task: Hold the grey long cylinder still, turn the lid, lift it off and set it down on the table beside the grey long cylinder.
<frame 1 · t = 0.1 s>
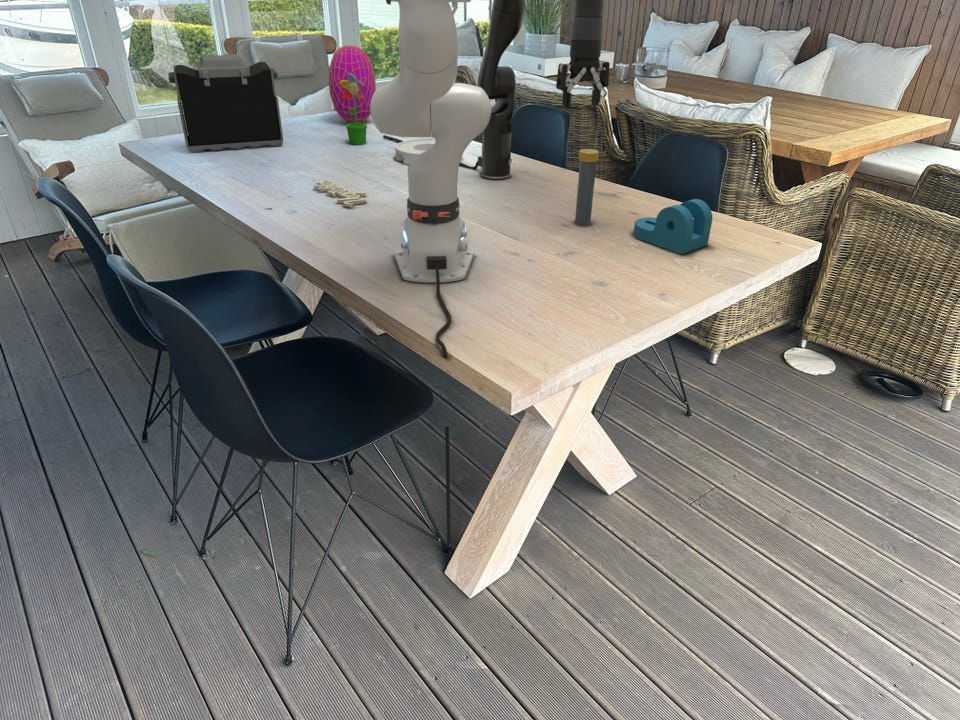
left hand: (430, 23, 166), 48 cm above the table, tool pointing down, fingers open, 8 cm apart
right hand: (580, 106, 176), 29 cm above the table, tool pointing down, fingers open, 8 cm apart
ashtray: (428, 158, 244), on the table
decorative sign: (342, 194, 206), on the table
electronic device: (235, 143, 259), on the table
lid: (588, 152, 177), point 19 cm above the table, screwed on, not yet turned
decorative egg: (355, 123, 293), on the table
camera mount: (665, 240, 176), on the table
grey long cylinder: (582, 223, 186), on the table
potted flower: (358, 143, 262), on the table
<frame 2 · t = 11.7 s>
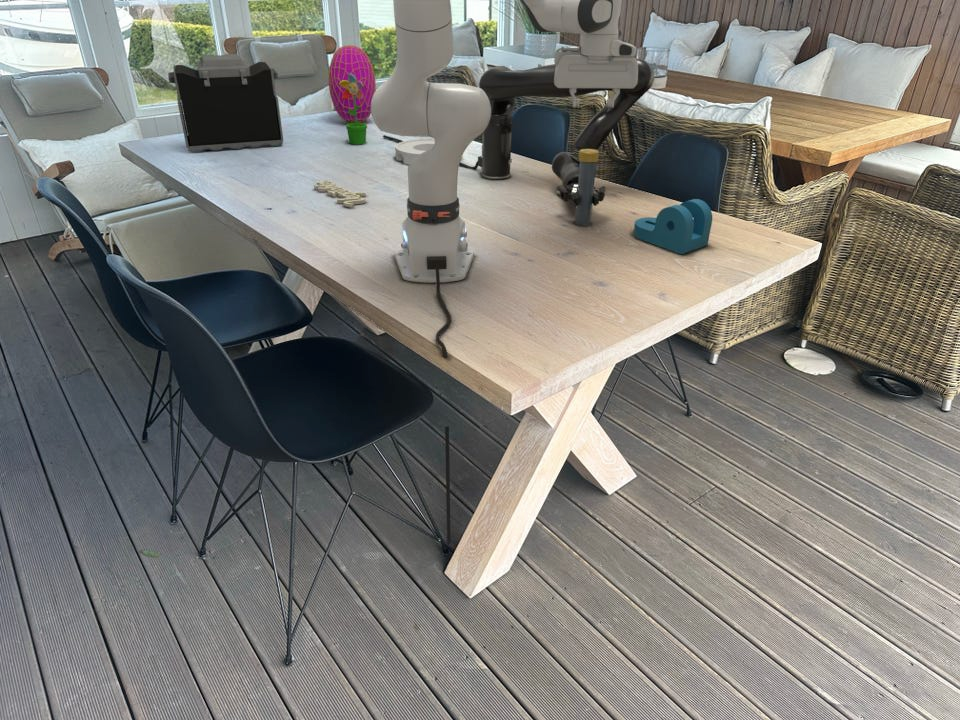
left hand: (593, 107, 171), 30 cm above the table, tool pointing down, fingers open, 7 cm apart
right hand: (586, 202, 180), 7 cm above the table, tool horizontal, fingers closed on grey long cylinder, 4 cm apart
grey long cylinder: (582, 223, 186), on the table, touching right hand
everything else where it was.
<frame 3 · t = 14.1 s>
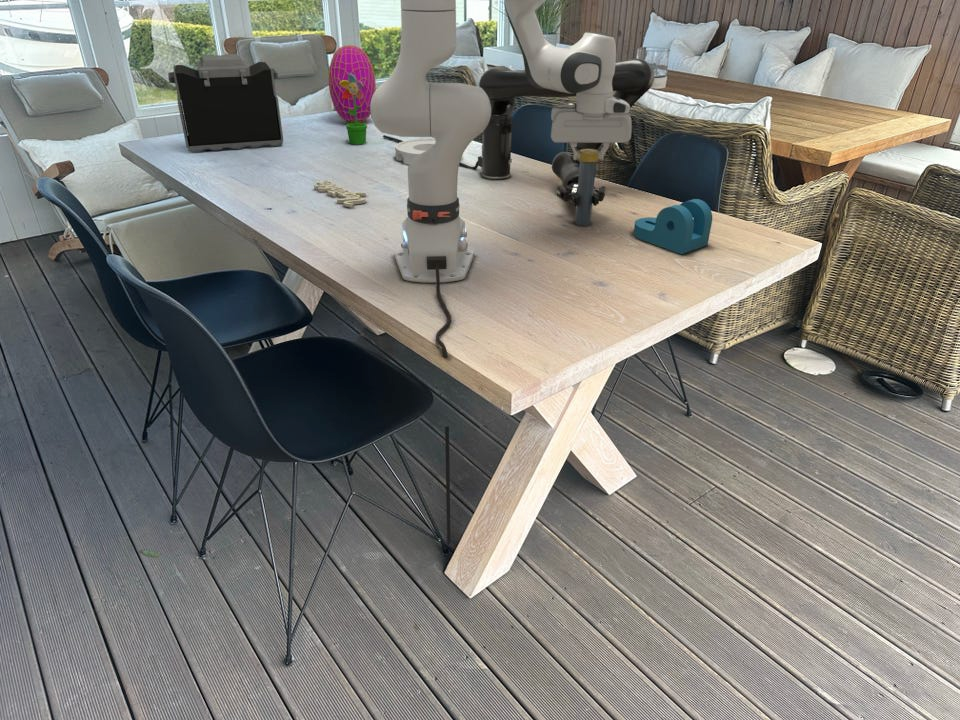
left hand: (588, 159, 178), 17 cm above the table, tool pointing down, fingers closed on lid, 5 cm apart
right hand: (586, 202, 180), 7 cm above the table, tool horizontal, fingers closed on grey long cylinder, 4 cm apart
lid: (588, 152, 177), point 19 cm above the table, screwed on, not yet turned, touching left hand
grey long cylinder: (582, 223, 186), on the table, touching right hand
everything else where it was.
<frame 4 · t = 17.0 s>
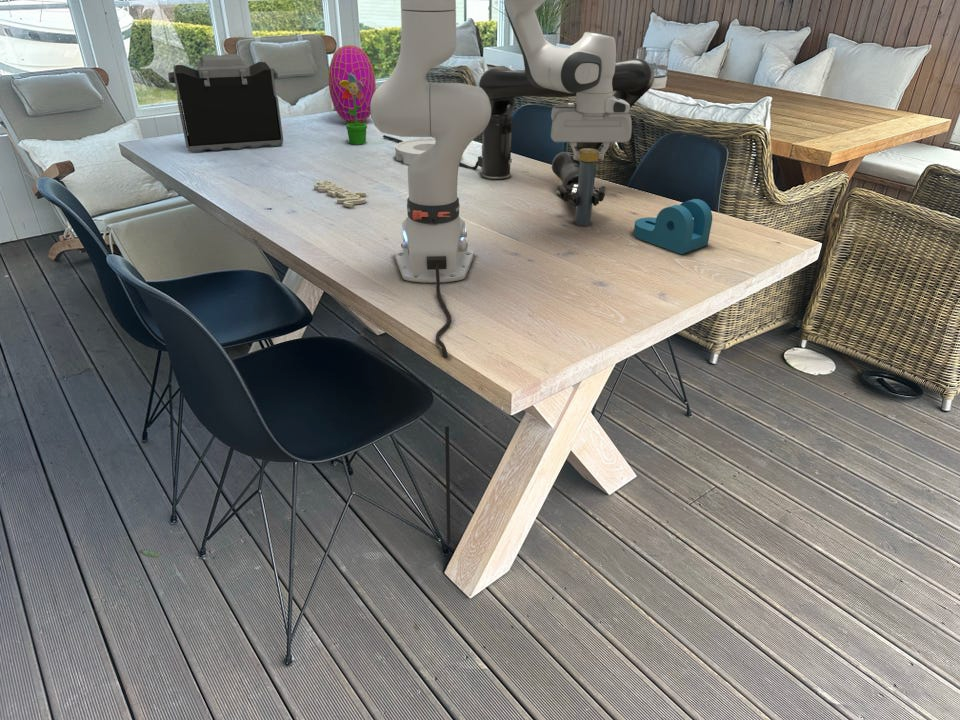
left hand: (588, 159, 177), 17 cm above the table, tool pointing down, fingers closed on lid, 5 cm apart
right hand: (586, 202, 180), 7 cm above the table, tool horizontal, fingers closed on grey long cylinder, 4 cm apart
lid: (588, 152, 176), point 19 cm above the table, turned 68° so far, risen 0.1 cm, still on its thread, touching left hand
grey long cylinder: (582, 223, 186), on the table, touching right hand
everything else where it was.
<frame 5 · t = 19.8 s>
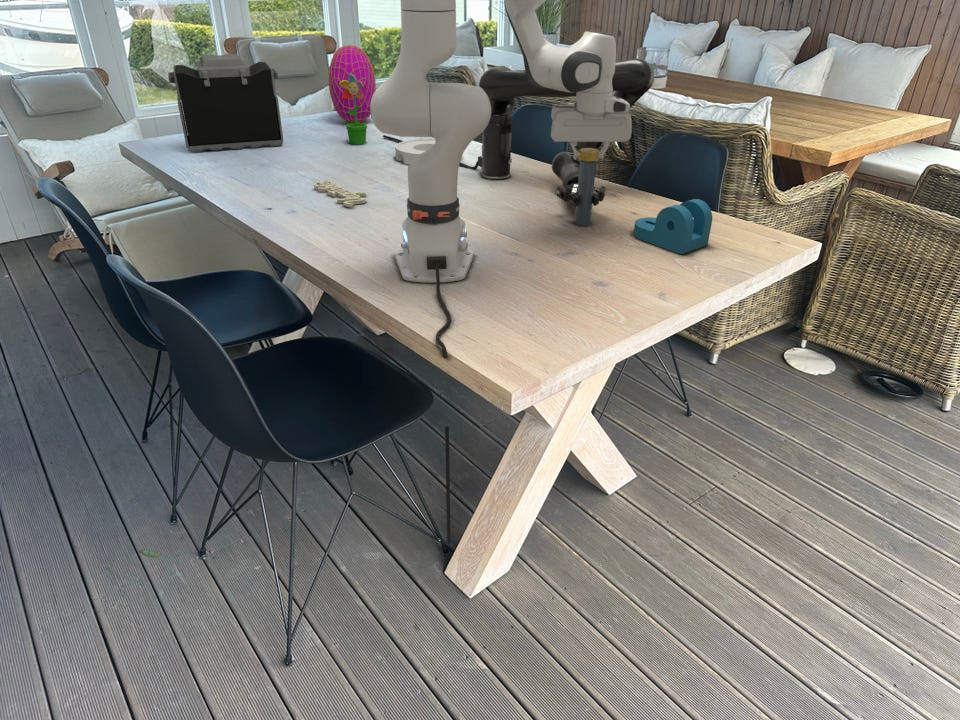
left hand: (588, 158, 177), 17 cm above the table, tool pointing down, fingers closed on lid, 5 cm apart
right hand: (586, 202, 180), 7 cm above the table, tool horizontal, fingers closed on grey long cylinder, 4 cm apart
lid: (589, 151, 176), point 19 cm above the table, turned 136° so far, risen 0.2 cm, still on its thread, touching left hand
grey long cylinder: (582, 223, 186), on the table, touching right hand
everything else where it was.
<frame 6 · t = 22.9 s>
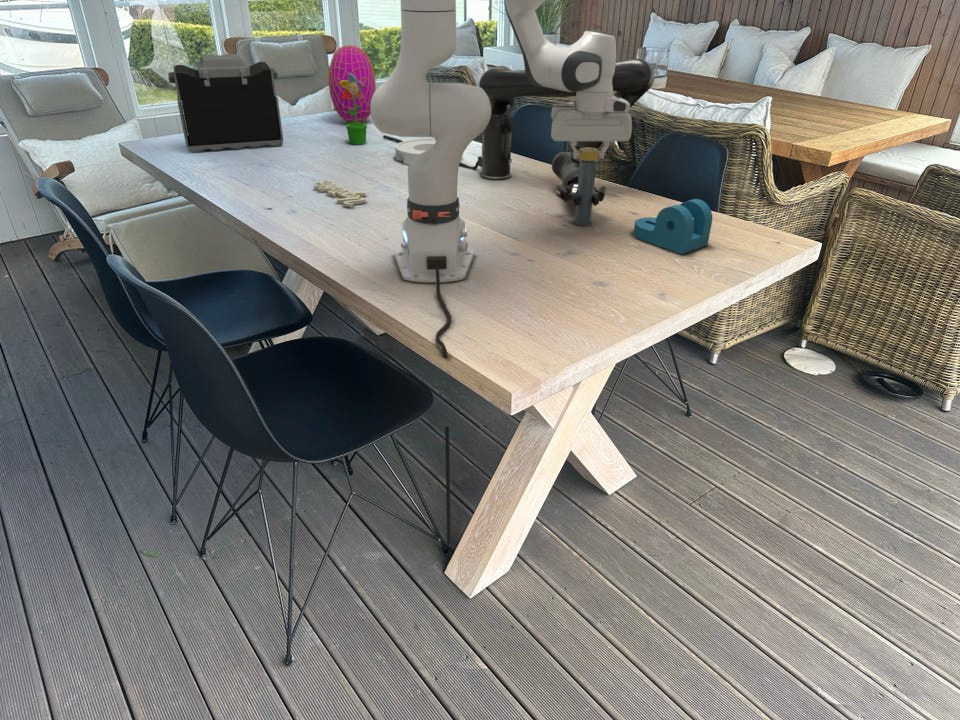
left hand: (588, 158, 177), 17 cm above the table, tool pointing down, fingers closed on lid, 5 cm apart
right hand: (586, 202, 180), 7 cm above the table, tool horizontal, fingers closed on grey long cylinder, 4 cm apart
lid: (589, 151, 176), point 19 cm above the table, turned 204° so far, risen 0.3 cm, still on its thread, touching left hand
grey long cylinder: (582, 223, 186), on the table, touching right hand
everything else where it was.
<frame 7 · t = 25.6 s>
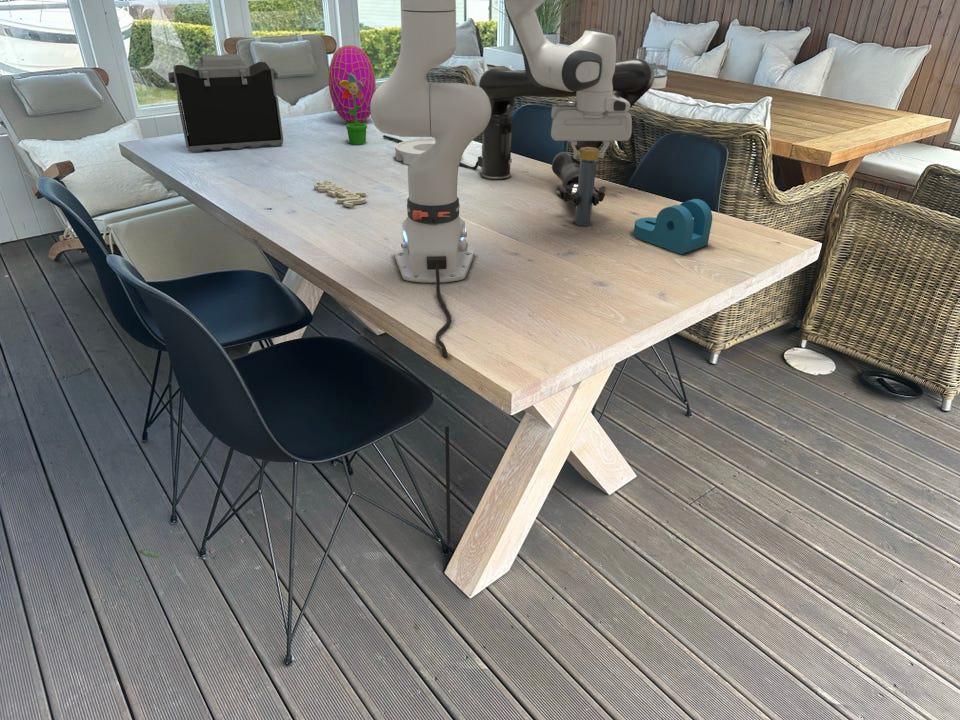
left hand: (588, 158, 177), 17 cm above the table, tool pointing down, fingers closed on lid, 5 cm apart
right hand: (586, 202, 180), 7 cm above the table, tool horizontal, fingers closed on grey long cylinder, 4 cm apart
lid: (589, 150, 176), point 19 cm above the table, turned 272° so far, risen 0.5 cm, still on its thread, touching left hand
grey long cylinder: (582, 223, 186), on the table, touching right hand
everything else where it was.
when the left hand's fingers open (2 cm above the table, at t = 36.4 s): lid drops 2 cm, point 2 cm above the table.
when the right hand's fingers open (7 cm above the table, at t = 37.4 s): grey long cylinder stays where it is, on the table.
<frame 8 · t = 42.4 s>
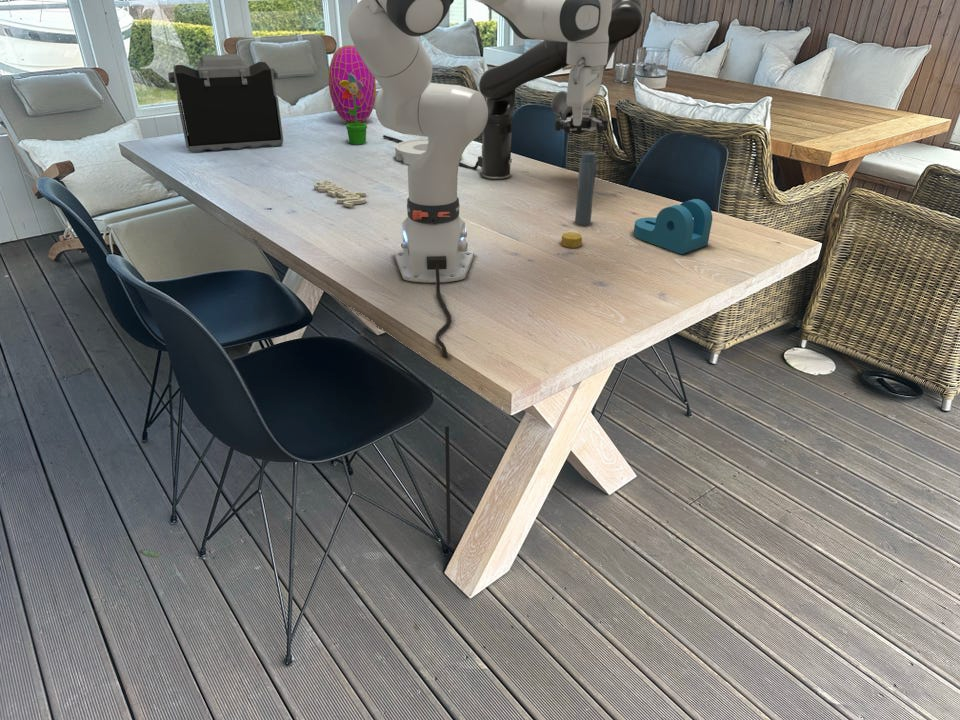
left hand: (581, 121, 157), 30 cm above the table, tool pointing down, fingers open, 8 cm apart
right hand: (584, 129, 184), 22 cm above the table, tool horizontal, fingers open, 8 cm apart
lid: (571, 237, 171), point 2 cm above the table, off its thread
grey long cylinder: (582, 223, 186), on the table
everything else where it was.
at the end: lid came off its thread; lid point 1.9 cm above the table; the left hand is holding nothing; the right hand is holding nothing; grey long cylinder tilted 0°; grey long cylinder moved 0.0 cm from its start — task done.
